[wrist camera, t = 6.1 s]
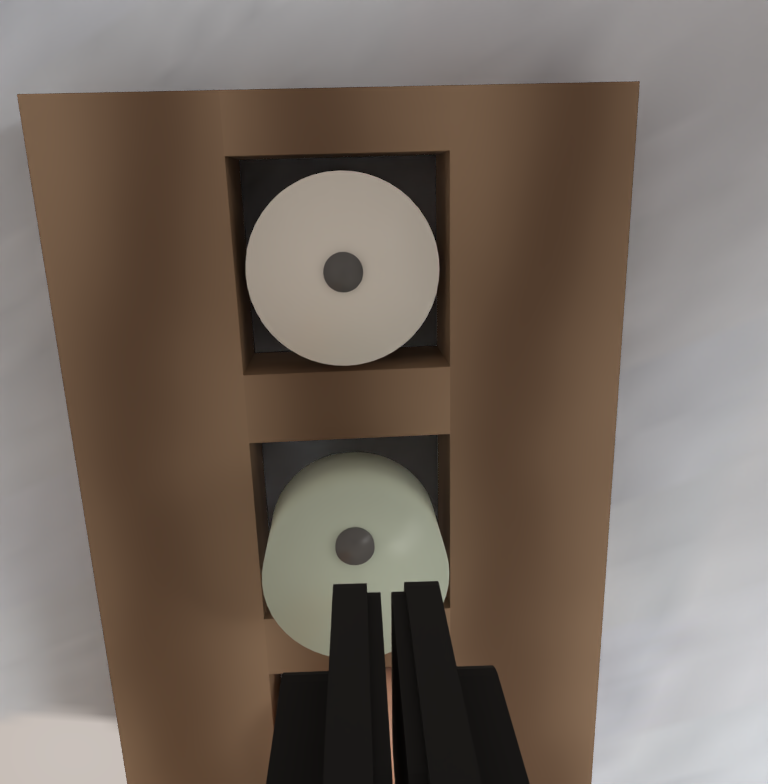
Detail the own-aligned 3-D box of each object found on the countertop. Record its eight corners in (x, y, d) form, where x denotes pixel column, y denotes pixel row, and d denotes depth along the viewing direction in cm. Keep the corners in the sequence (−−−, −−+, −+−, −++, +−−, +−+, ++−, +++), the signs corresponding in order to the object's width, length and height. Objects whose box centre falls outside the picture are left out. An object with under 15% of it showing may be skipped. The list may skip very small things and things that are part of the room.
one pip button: (425, 170, 18) (439, 167, 15) (426, 339, 19) (440, 363, 17) (251, 175, 18) (236, 173, 15) (264, 345, 19) (252, 371, 16)
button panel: (601, 94, 19) (639, 81, 16) (563, 769, 25) (587, 831, 22) (59, 106, 18) (17, 94, 16) (160, 797, 24) (140, 865, 22)
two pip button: (434, 447, 19) (450, 490, 16) (435, 594, 20) (450, 657, 17) (265, 455, 18) (253, 500, 16) (278, 603, 20) (268, 668, 17)
